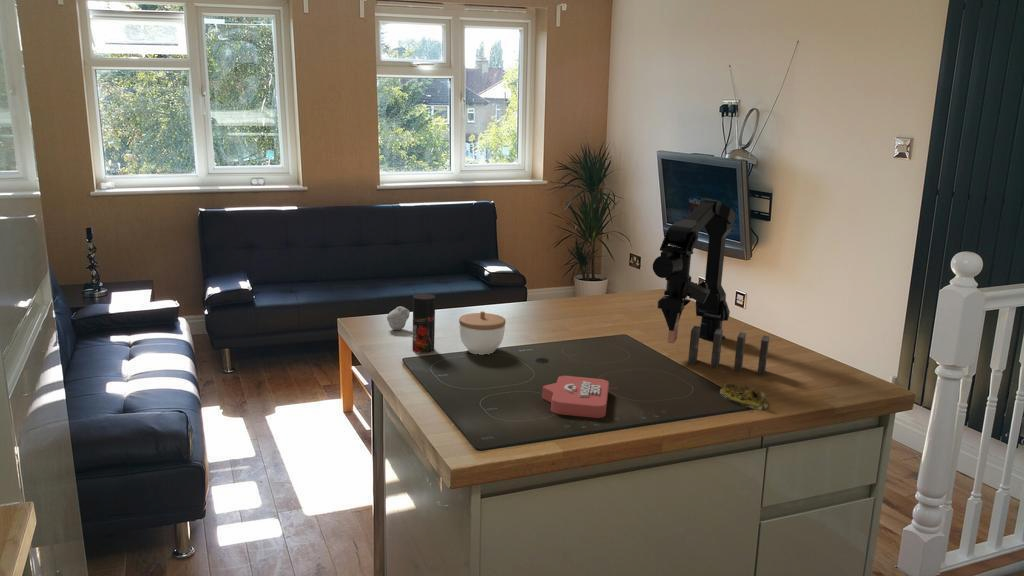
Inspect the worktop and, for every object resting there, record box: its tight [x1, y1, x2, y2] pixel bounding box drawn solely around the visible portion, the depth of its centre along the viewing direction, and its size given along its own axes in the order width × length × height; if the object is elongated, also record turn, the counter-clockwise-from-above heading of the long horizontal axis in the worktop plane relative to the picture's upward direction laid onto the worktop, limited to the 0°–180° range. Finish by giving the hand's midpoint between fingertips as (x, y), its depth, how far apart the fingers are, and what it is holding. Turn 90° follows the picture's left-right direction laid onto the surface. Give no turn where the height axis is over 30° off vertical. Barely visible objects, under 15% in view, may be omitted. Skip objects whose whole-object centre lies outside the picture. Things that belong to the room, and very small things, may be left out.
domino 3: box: [710, 329, 724, 370], centre depth 209 cm, size 2×5×10 cm, turn 158°
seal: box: [719, 383, 769, 411], centre depth 187 cm, size 9×5×15 cm
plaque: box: [541, 375, 610, 419], centre depth 181 cm, size 18×4×15 cm
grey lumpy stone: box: [386, 306, 410, 331], centre depth 230 cm, size 6×7×7 cm
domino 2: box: [687, 325, 700, 366], centre depth 211 cm, size 2×5×10 cm, turn 157°
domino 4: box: [733, 331, 747, 373], centre depth 207 cm, size 2×5×10 cm, turn 157°
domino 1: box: [667, 313, 680, 344], centre depth 212 cm, size 2×5×10 cm, turn 158°
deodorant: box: [412, 293, 436, 354], centre depth 211 cm, size 6×6×15 cm
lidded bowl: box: [458, 311, 507, 356], centre depth 213 cm, size 13×13×11 cm
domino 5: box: [756, 335, 770, 377], centre depth 205 cm, size 2×5×10 cm, turn 157°
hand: (673, 328), depth 213 cm, fingers closed on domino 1, 5 cm apart
